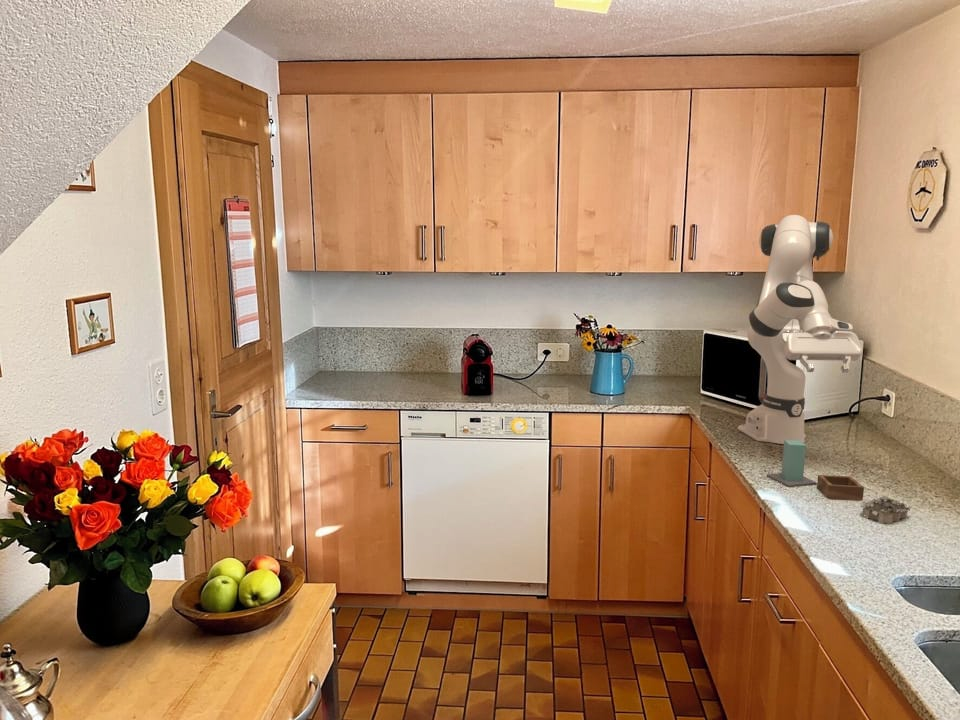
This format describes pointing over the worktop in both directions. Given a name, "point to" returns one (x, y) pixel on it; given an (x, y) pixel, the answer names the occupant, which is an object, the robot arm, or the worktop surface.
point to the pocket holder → (840, 487)
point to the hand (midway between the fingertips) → (828, 371)
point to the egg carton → (885, 510)
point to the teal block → (793, 460)
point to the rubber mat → (791, 483)
